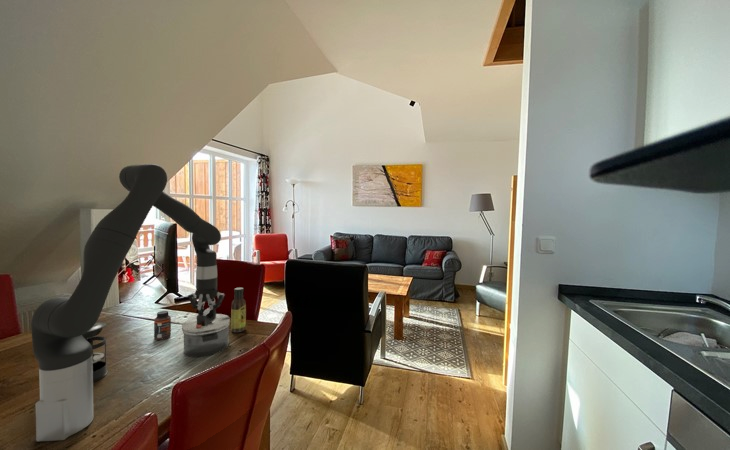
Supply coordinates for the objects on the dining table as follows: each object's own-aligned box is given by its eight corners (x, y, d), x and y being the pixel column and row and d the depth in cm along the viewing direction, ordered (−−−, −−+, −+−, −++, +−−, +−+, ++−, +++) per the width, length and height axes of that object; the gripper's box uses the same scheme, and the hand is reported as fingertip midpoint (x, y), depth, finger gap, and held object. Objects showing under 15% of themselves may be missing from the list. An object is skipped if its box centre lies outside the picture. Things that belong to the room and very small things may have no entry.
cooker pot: (234, 352, 110) (234, 330, 110) (184, 365, 101) (183, 340, 100) (225, 332, 128) (225, 313, 128) (181, 341, 119) (181, 320, 118)
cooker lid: (219, 332, 106) (219, 319, 106) (172, 333, 105) (172, 319, 105) (235, 316, 123) (236, 304, 123) (195, 316, 122) (195, 305, 122)
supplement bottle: (162, 341, 119) (161, 315, 118) (150, 339, 120) (150, 313, 119) (174, 335, 125) (174, 310, 124) (163, 334, 126) (162, 309, 125)
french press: (111, 366, 99) (110, 302, 98) (109, 378, 92) (108, 309, 91) (62, 378, 92) (61, 309, 91) (56, 392, 84) (54, 317, 84)
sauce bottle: (243, 333, 128) (243, 290, 128) (229, 333, 127) (229, 290, 127) (247, 327, 135) (247, 286, 134) (233, 327, 134) (233, 286, 133)
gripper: (183, 278, 109) (183, 322, 110) (221, 278, 110) (221, 321, 111) (193, 274, 116) (193, 315, 117) (228, 274, 118) (228, 314, 118)
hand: (206, 318), depth 114 cm, fingers open, 3 cm apart
